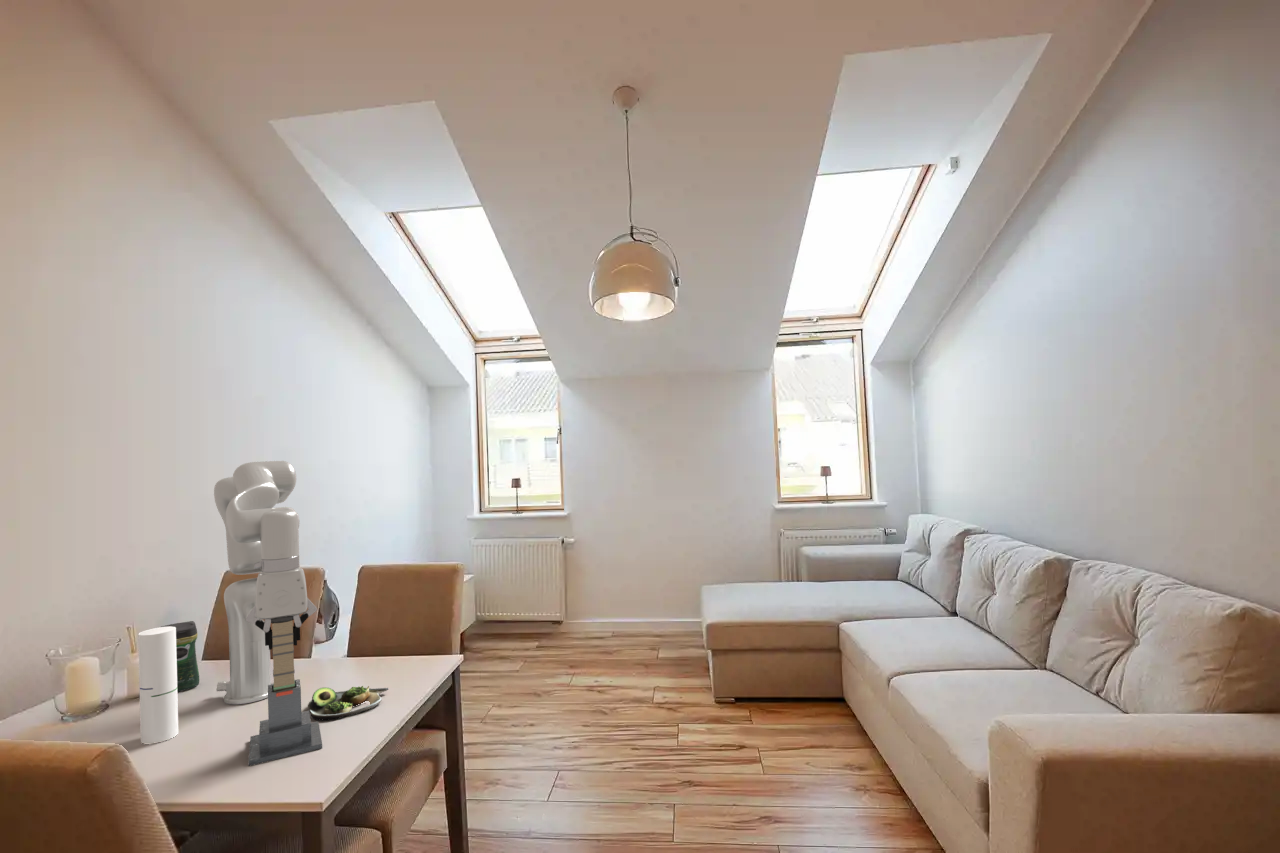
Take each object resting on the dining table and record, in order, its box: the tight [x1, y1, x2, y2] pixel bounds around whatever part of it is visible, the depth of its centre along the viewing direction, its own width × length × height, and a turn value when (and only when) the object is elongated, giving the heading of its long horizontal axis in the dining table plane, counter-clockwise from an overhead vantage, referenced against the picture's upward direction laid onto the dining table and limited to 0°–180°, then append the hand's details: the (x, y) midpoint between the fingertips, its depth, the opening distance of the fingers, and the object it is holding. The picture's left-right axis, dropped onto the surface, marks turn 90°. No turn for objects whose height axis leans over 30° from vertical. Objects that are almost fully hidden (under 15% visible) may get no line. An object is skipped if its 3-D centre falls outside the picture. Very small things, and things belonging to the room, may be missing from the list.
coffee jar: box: [160, 620, 200, 693], centre depth 185 cm, size 10×8×19 cm
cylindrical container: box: [137, 626, 179, 744], centre depth 153 cm, size 7×7×25 cm
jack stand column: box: [271, 616, 296, 692], centre depth 147 cm, size 5×5×22 cm
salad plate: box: [307, 685, 389, 721], centre depth 169 cm, size 19×18×5 cm
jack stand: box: [248, 679, 323, 767], centre depth 147 cm, size 14×14×13 cm
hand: (283, 645), depth 147 cm, fingers closed on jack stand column, 4 cm apart
